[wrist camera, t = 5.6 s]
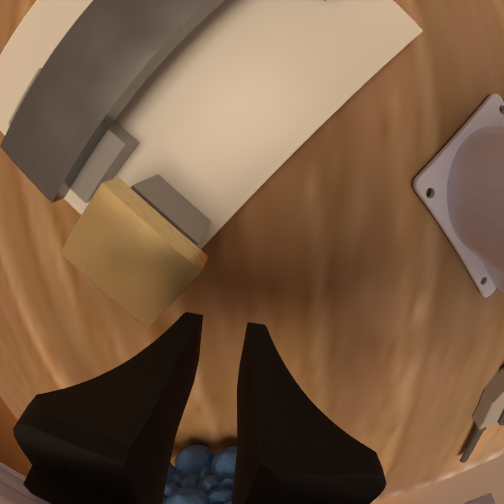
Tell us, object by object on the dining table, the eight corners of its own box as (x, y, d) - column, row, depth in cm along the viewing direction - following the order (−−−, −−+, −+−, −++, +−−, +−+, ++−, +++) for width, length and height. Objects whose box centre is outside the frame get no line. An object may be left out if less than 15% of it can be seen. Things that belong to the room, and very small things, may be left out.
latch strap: (235, -97, 7) (233, -114, 5) (308, -59, 7) (312, -76, 6) (16, 143, 11) (-3, 147, 9) (67, 196, 12) (48, 203, 10)
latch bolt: (208, 256, 10) (202, 271, 9) (157, 310, 11) (147, 328, 10) (118, 177, 9) (101, 183, 8) (77, 240, 10) (60, 252, 9)
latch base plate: (409, 38, 11) (454, 14, 7) (172, 275, 16) (146, 321, 12) (179, -109, 7) (163, -149, 3) (-8, 101, 12) (-58, 104, 8)
